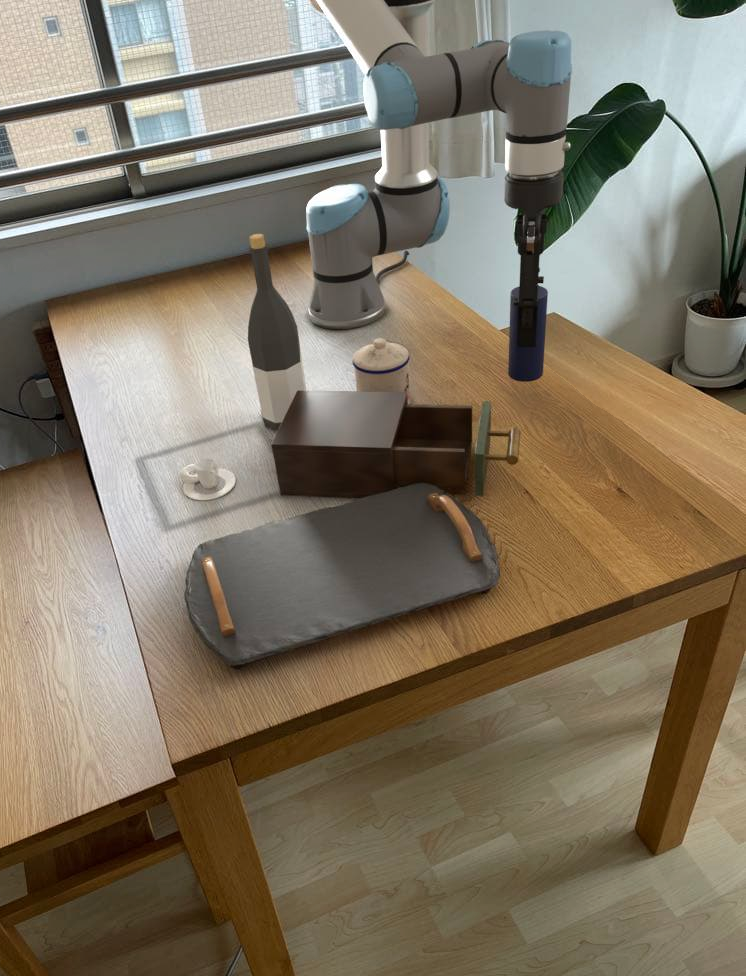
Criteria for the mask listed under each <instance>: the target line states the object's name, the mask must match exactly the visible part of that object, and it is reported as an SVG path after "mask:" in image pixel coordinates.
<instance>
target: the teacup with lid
mask: <svg viewBox="0 0 746 976" xmlns="http://www.w3.org/2000/svg"><path fill="white" fill-rule="evenodd" d="M410 356H411V355H410V353H409V351H408V350H407V348H406V347H404V346H403V345H401V344H399V343H395V342H387V340H386V339H385V338H382V337H378V338H375V339H374V340H373V342H372V343H370V344H366V345H365V346H362V347H360V348H359V349H358V350H357V351H355V353H354V354H353V357H352V361H351V363H352V365H353V367H354V377H355V386H356V388H355V389H356V391H364V392H407V398H408V404H411V385H410V369H409V366H410V365H409V363H410V358H411V357H410Z"/></svg>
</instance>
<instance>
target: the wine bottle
mask: <svg viewBox="0 0 746 976" xmlns="http://www.w3.org/2000/svg"><path fill="white" fill-rule="evenodd" d="M249 243H250V245H249V253H250V256H251V261H252V262H251V263H252V267H253V272H254V273H253V274H254V278H255V284H256V292H255V294H254V298H253V301H252V304H251V307H250V313H249V317H248V318H249V320H248V326H247V343H248V349H249V353H250V358H251V365H252V369H253V375H254V381H255V385H256V390H257V395H258V402H259V405H260V413H261V417H262V422H263V425H264V426H265V427H268V428H270V429H271V430H274V431H276V432H277V431H278V429H279V427H280V425H281V423H282V421H283V419H284V417H285V415H286V413H287V411H288V409H289V407H290V405H291V403H292V400H293V398H294V396H295V394H296V392H297V391H298V390H300V391H307V386H306V378H305V371H304V365H303V357H302V351H301V343H300V337H299V330H298V324H297V322H296V320H295V317H294V315H293V312H292V311H291V309H290V307H289V305H288V304H287V302H286V300H285V299H284V298H283V297H282V296H281V294H280V293H279V292H278V290H277V289H276V287H275V286H274V285H273V284H274V283H273V278H272V272H271V266H270V265H271V264H270V261H269V260H270V259H269V254H268V253H269V252H268V244H267V243H266V241H265V236H264V234H263V233H254V234H251V235H250V236H249Z"/></svg>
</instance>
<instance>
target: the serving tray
mask: <svg viewBox="0 0 746 976" xmlns="http://www.w3.org/2000/svg"><path fill="white" fill-rule="evenodd" d="M498 560H499V555H498V551H497V548H496V544H495V543H494V542H493V541H492V538H491V536H490V534H489V532H488V530H487V528H486V526H485V524H484V523H483V522H482V520H480V518H479V516H477V515H476V514H475V513H474V512H473V510H471V509H470V508H468V507H467V506H466V505H465V504H464V503H462V502H461V501H460V500H459V499H458V498H457V497H455V496H453V495H452V494H450V493H448V492H446V490H444V489H439V488H438V487H437V486H434V485H431V484H427V483H424V482H423V483H417V484H412V485H409V486H405V487H398V488H397V489H393V490H391V491H388V492H383V493H379V494H375V495H371V496H366V497H364V498H360V499H354V500H352V501H349V502H346V503H342V504H338V505H335V506H327V507H323V508H320V509H315V510H312V511H308V512H307V513H303V514H299V515H295V516H293V517H290V518H286V519H281V520H277V521H271V522H268V523H266V524H263V525H259V526H257V527H254V528H252V529H246V530H242V531H241V532H236V533H231V534H227V535H225V536H221V537H218V538H214V539H209V540H207V541H204V542H202V543H200V544H198V546H197V547H196V548H195V549H194V551H193V553H192V555H191V560H190V563H189V566H188V568H187V571H186V577H185V580H184V581H185V582H184V583H185V590H184V595H183V597H184V602H185V605H186V610H187V613H188V619H189V621H190V623H191V625H192V626H193V628H194V631H196V633H197V635H198V636H199V638H200V639H201V640H202V641H203V643H204V644H205V645H206V646H207V647H208V648H209V649H211V650H212V651H213V652H214V653H215V655H216V656H217V657H218V659H220V660H221V661H222V662H224V663H225V664H227V665H228V666H229V667H230V668H232V670H235V671H236V670H237V671H239V670H241V669H242V668H243V667H244V666H245V664H248V663H252V662H255V661H259V660H260V659H264V658H268V657H271V656H275V655H279V654H282V653H284V652H287V651H291V650H294V649H298V648H300V647H303V646H306V645H307V646H308V645H312V644H314V643H317V642H320V641H322V640H325V639H330V638H333V637H336V636H340V635H344V634H348V633H350V632H353V631H356V630H359V629H362V628H365V627H370V626H372V625H375V624H379V623H383V622H387V621H389V620H392V619H395V618H398V617H403V616H407V615H409V614H411V613H415V612H419V611H422V610H425V609H428V608H430V607H434V606H437V605H441V604H444V603H448V602H451V601H453V600H457V599H460V598H464V597H467V596H470V595H473V594H477V593H480V594H483V595H486V594H488V593H490V591H491V590H492V589H493V588H494V587H497V585H499V583H500V577H501V569H500V563H499V561H498Z"/></svg>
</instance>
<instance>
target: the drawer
mask: <svg viewBox="0 0 746 976" xmlns="http://www.w3.org/2000/svg"><path fill="white" fill-rule="evenodd" d="M491 429H492V401H490V400H489V401H487V400H486V401H485V400H483V401H482V402H481V411H480V415H479V422H478V428H477V436H476V442H475V449H474V478H473V479H474V481H473V482H474V489H473V490H474V492H473V493H474V495H473V496H474V497H484V494H485V486H486V478H487V471H488V462H489V461H499V462H500V461H503V462H504V461H506V463H507V464H508V465H510V466H514V465H517V464H518V463H519V457H520V456H519V455H520V445H521V444H520V443H521V430H520V428H518V427H512V428H510V429H509V430H491ZM491 437H501V438H502V437H504V438H506V437H507V449H506V454H490V447H491ZM472 446H473V405H467V404H465V405H463V404H462V405H461V404H417V403H416V404H415V403H413V404H411V403H410V404H405V408H404V411H403V415H402V418H401V422H400V425H399V428H398V432H397V435H396V439H395V442H394V446H393V449H392V452H393V466H394V480H395V487H398V488H402V487H405V486H409V485H412V484H417V483H423V482H424V483H427V484H431V485H434V486H437V487H438V488H439V489H440V490H457V491H465V489H466V485H467V479H468V478H467V477H468V471H469V464H470V459H471V453H472Z"/></svg>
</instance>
